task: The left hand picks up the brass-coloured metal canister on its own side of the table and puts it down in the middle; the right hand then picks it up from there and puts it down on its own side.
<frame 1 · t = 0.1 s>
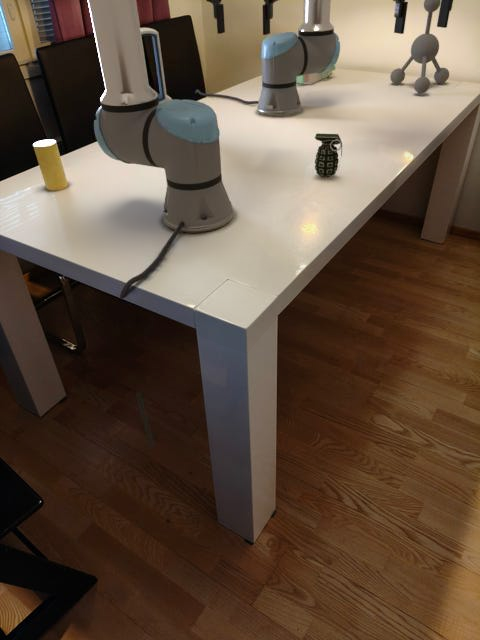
left hand: (243, 33, 129), 28 cm above the table, tool pointing down, fingers open, 13 cm apart
right hand: (420, 30, 122), 28 cm above the table, tool pointing down, fingers open, 13 cm apart
decorative block: (305, 78, 208), on the table
canister: (57, 186, 126), on the table
electronic device: (160, 141, 150), on the table
grenade: (326, 176, 122), on the table
molecular model: (423, 86, 188), on the table
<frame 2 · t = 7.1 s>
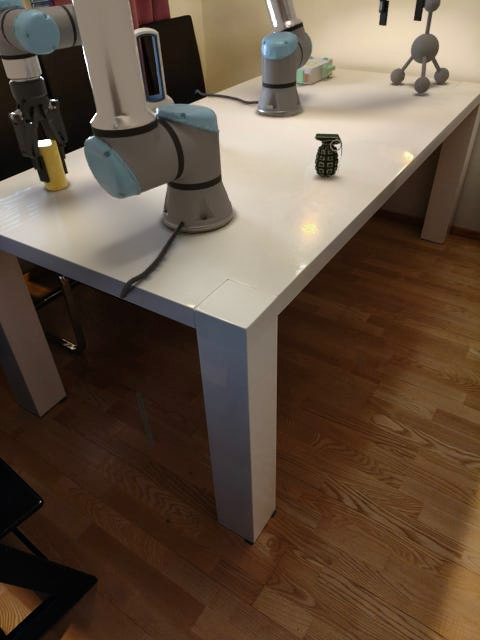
left hand: (54, 176, 124), 3 cm above the table, tool pointing down, fingers closed on canister, 5 cm apart
right hand: (400, 23, 153), 25 cm above the table, tool pointing down, fingers open, 13 cm apart
canister: (57, 186, 126), on the table, touching left hand
everything else where it was.
when the left hand's fingers open (3 cm above the table, at t = 17.9 s): canister stays where it is, on the table.
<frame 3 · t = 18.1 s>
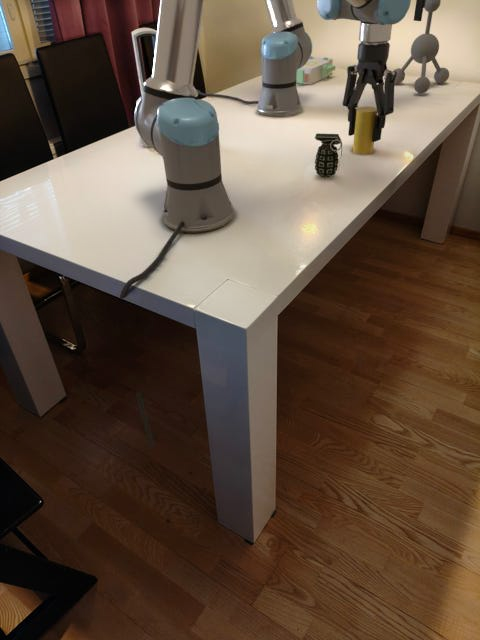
left hand: (364, 137, 133), 4 cm above the table, tool pointing down, fingers open, 7 cm apart
right hand: (400, 23, 153), 25 cm above the table, tool pointing down, fingers open, 13 cm apart
canister: (362, 151, 135), on the table
everything else where it was.
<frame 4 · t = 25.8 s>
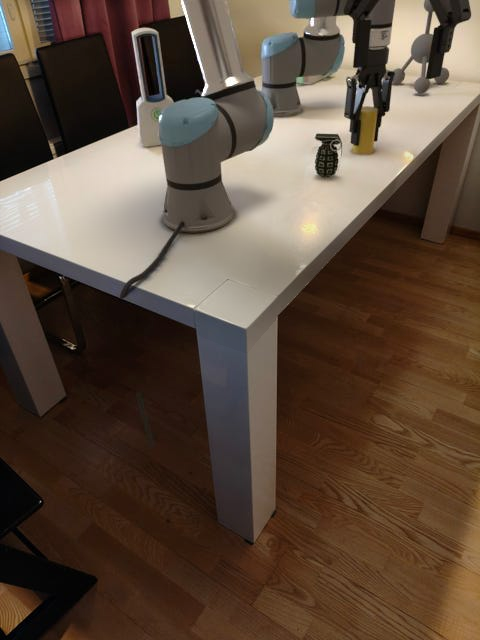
left hand: (394, 71, 77), 30 cm above the table, tool pointing down, fingers open, 13 cm apart
right hand: (363, 142, 134), 3 cm above the table, tool pointing down, fingers closed on canister, 5 cm apart
canister: (362, 151, 135), on the table, touching right hand
everything else where it was.
when the right hand's fingers open (3 cm above the table, at t = 34.5 s): canister stays where it is, on the table.
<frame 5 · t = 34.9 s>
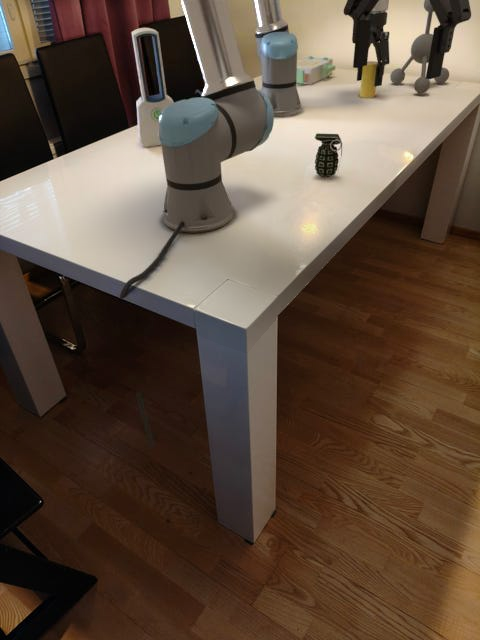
left hand: (394, 71, 77), 30 cm above the table, tool pointing down, fingers open, 13 cm apart
right hand: (368, 82, 179), 4 cm above the table, tool pointing down, fingers open, 10 cm apart
canister: (367, 95, 181), on the table
everything else where it was.
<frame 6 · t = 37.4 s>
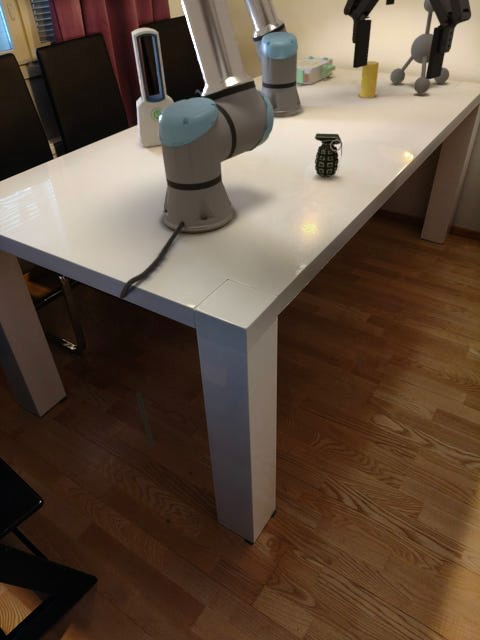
left hand: (394, 71, 77), 30 cm above the table, tool pointing down, fingers open, 13 cm apart
right hand: (377, 3, 163), 29 cm above the table, tool pointing down, fingers open, 13 cm apart
nothing on the table moved.
at the end: canister inside the target area (0.0 cm from its centre), on the table; canister tilted 0°; the two hands never held the canister at the same time; the left hand is holding nothing; the right hand is holding nothing; canister at rest at the end (0.0 cm/s) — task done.
